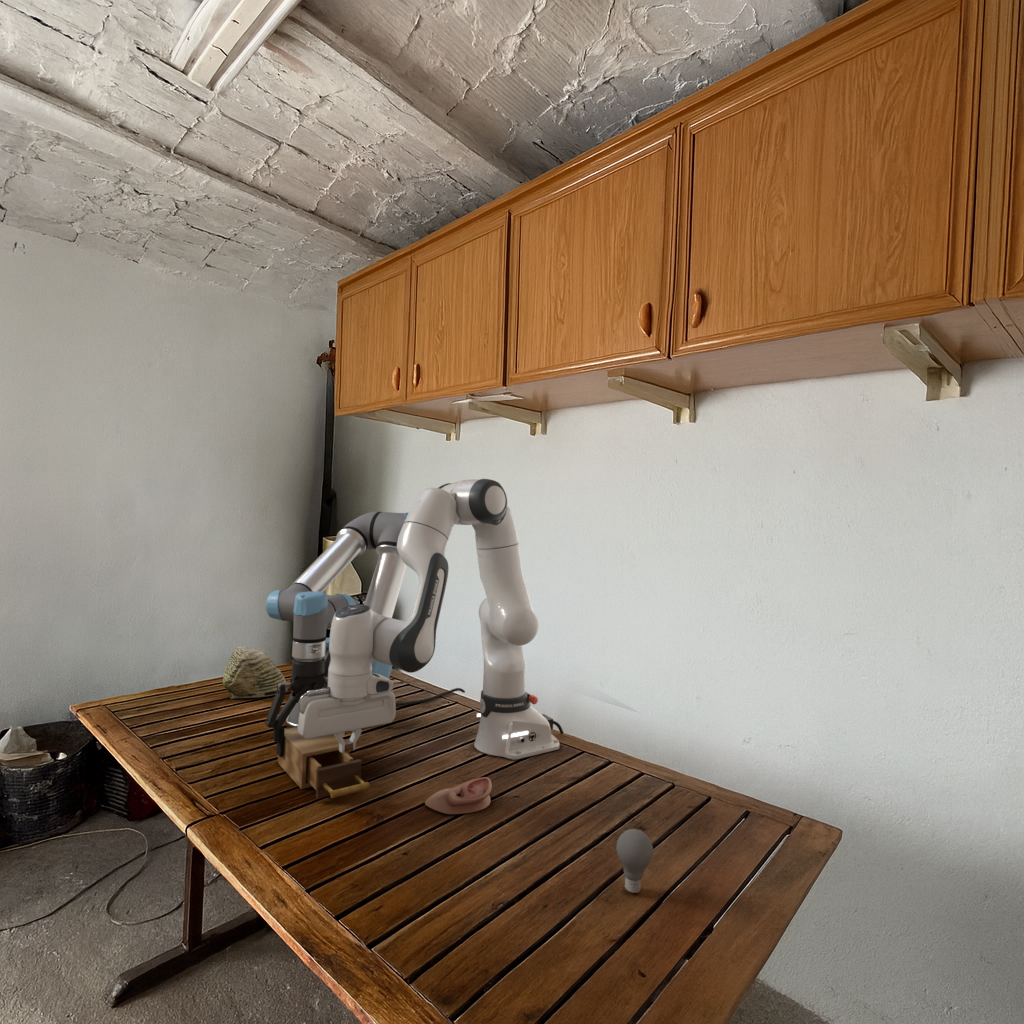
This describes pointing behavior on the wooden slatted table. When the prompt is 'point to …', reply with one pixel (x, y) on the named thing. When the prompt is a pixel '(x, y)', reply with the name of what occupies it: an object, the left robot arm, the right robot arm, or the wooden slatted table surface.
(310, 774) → the drawer
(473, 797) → the anatomical model
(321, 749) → the cabinet
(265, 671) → the fossil
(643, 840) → the light bulb
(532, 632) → the right robot arm
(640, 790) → the wooden slatted table surface
